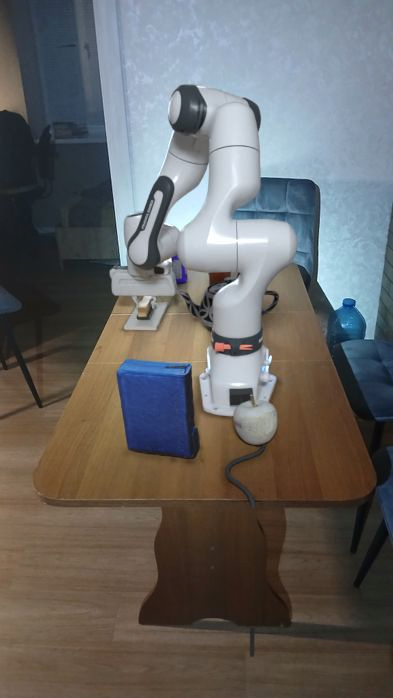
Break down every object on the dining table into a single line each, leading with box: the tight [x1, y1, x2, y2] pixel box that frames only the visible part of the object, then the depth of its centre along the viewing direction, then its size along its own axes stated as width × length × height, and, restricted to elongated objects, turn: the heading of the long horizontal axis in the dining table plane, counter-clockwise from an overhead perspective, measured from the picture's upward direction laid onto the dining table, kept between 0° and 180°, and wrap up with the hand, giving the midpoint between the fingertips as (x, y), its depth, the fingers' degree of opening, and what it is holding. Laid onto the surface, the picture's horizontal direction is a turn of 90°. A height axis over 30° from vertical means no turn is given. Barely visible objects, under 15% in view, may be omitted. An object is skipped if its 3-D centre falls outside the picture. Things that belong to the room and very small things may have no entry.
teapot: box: [174, 276, 280, 331], centre depth 148 cm, size 19×31×15 cm, turn 91°
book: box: [115, 358, 200, 459], centre depth 95 cm, size 14×5×20 cm, turn 76°
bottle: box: [170, 255, 188, 284], centre depth 186 cm, size 7×6×17 cm
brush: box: [137, 296, 156, 320], centre depth 159 cm, size 11×4×4 cm, turn 173°
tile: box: [123, 301, 169, 331], centre depth 160 cm, size 20×10×1 cm, turn 172°
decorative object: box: [232, 395, 279, 446], centre depth 100 cm, size 9×9×10 cm
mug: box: [207, 272, 240, 286], centre depth 173 cm, size 12×9×10 cm
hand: (146, 308), depth 159 cm, fingers closed on brush, 2 cm apart
